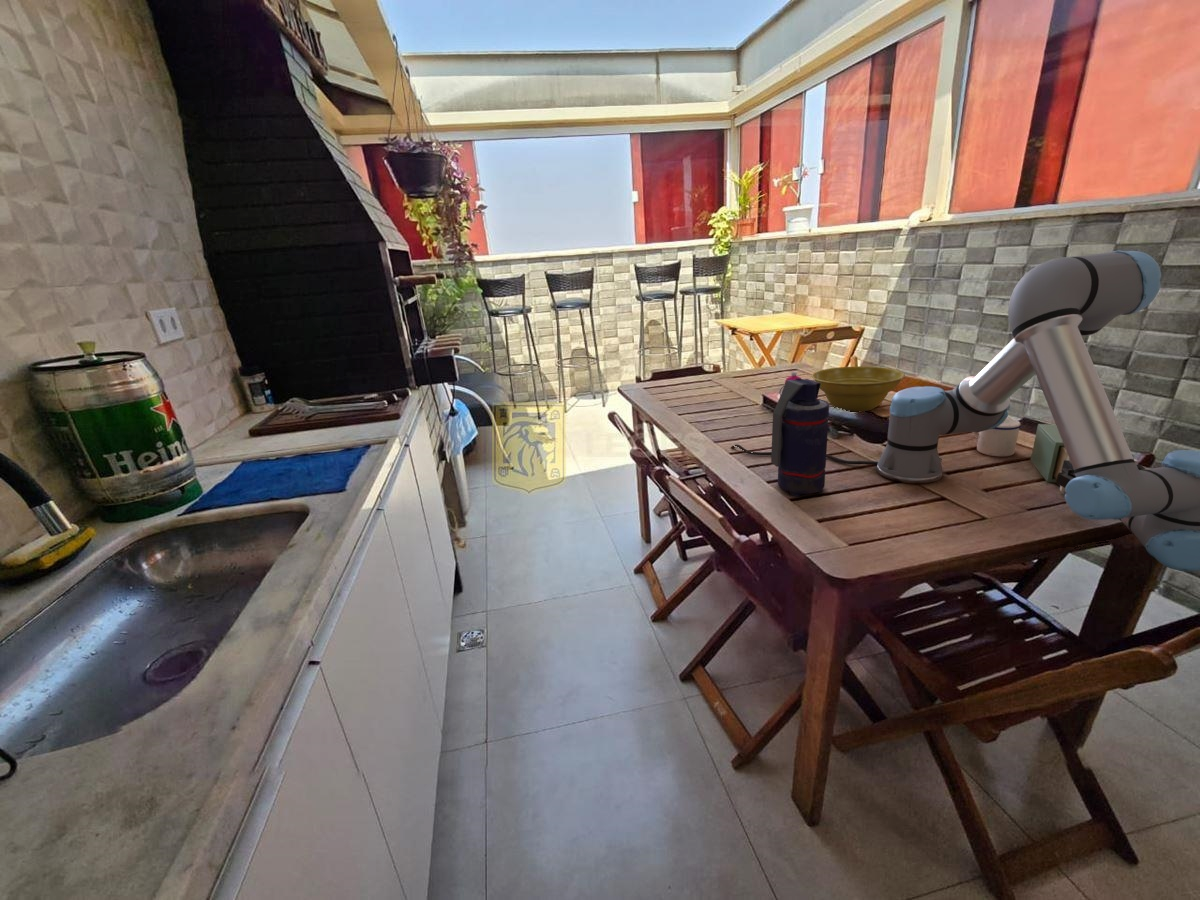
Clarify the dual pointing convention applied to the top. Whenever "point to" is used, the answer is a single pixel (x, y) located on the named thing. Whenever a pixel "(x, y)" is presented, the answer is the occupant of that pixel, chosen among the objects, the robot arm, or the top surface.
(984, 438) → the teacup with lid
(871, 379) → the planter bowl
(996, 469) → the top surface
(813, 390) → the grenade
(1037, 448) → the cabinet
